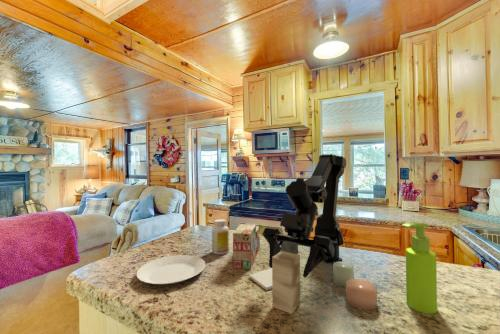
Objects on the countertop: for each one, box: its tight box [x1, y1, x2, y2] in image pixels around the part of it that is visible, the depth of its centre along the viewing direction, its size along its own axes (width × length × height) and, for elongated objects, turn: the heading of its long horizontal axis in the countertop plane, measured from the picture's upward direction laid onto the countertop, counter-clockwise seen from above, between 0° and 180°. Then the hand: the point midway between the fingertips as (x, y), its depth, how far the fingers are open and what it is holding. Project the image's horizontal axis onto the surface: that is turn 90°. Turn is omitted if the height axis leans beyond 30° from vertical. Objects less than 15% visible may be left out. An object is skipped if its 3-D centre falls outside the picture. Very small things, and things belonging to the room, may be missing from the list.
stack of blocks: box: [232, 223, 261, 270], centre depth 87 cm, size 21×6×12 cm, turn 170°
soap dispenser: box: [401, 221, 438, 315], centre depth 55 cm, size 6×7×20 cm
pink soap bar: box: [345, 278, 378, 311], centre depth 57 cm, size 7×7×4 cm
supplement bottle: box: [211, 218, 230, 256], centre depth 92 cm, size 7×7×13 cm
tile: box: [248, 267, 272, 291], centre depth 69 cm, size 9×9×1 cm
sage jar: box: [332, 261, 355, 288], centre depth 67 cm, size 6×6×5 cm
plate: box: [136, 254, 206, 286], centre depth 74 cm, size 21×21×2 cm
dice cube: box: [280, 242, 299, 254], centre depth 91 cm, size 5×5×5 cm
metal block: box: [271, 251, 301, 314], centre depth 56 cm, size 5×5×12 cm
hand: (286, 271), depth 56 cm, fingers open, 9 cm apart
